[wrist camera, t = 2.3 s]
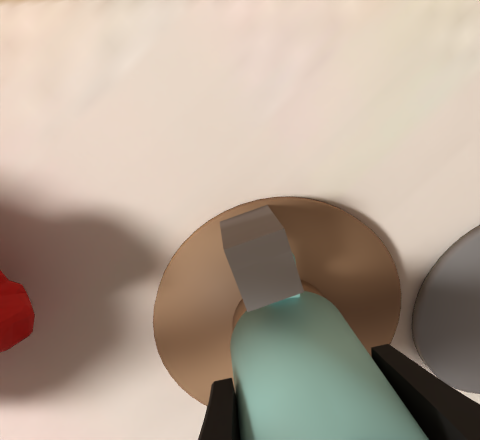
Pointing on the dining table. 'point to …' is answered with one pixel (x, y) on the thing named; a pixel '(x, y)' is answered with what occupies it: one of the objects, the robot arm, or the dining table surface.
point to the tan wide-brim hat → (268, 281)
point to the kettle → (311, 377)
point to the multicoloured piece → (14, 313)
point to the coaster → (452, 315)
